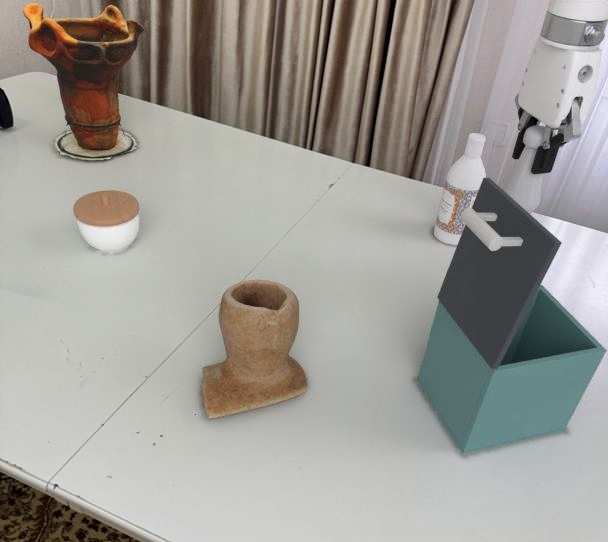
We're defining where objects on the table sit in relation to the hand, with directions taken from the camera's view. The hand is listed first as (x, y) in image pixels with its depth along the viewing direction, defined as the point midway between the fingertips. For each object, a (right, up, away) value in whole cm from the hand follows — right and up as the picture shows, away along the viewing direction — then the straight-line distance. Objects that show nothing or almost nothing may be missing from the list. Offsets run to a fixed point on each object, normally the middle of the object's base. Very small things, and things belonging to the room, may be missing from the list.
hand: (531, 164), depth 91 cm
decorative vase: (-79, +19, +49) cm, 95 cm away
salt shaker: (0, -6, +5) cm, 8 cm away
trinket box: (-67, -9, +19) cm, 71 cm away
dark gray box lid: (-12, -19, -22) cm, 31 cm away
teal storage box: (-8, -35, -5) cm, 36 cm away
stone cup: (-41, -32, -5) cm, 53 cm away
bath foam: (-5, -6, +29) cm, 30 cm away
